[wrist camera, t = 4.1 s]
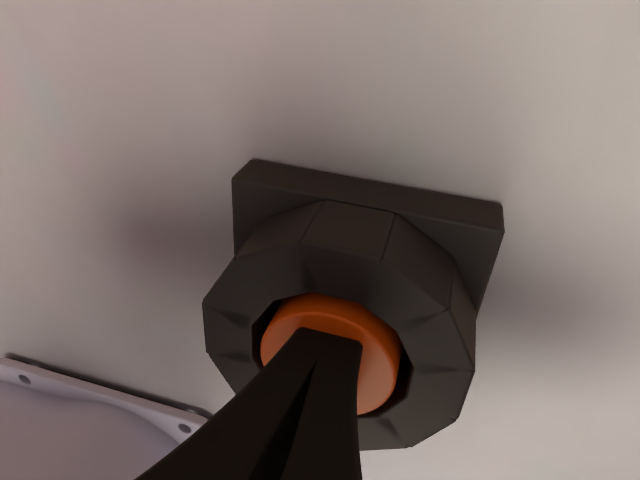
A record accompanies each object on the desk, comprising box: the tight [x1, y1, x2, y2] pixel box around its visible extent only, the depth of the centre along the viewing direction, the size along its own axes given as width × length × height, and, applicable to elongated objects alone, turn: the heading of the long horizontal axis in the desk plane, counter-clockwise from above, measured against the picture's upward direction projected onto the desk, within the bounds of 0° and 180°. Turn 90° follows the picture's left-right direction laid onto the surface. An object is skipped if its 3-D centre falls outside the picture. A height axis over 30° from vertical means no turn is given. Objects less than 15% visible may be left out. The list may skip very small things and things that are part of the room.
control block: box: [202, 160, 505, 451], centre depth 12 cm, size 6×6×3 cm
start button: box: [261, 292, 403, 415], centre depth 11 cm, size 3×3×2 cm
